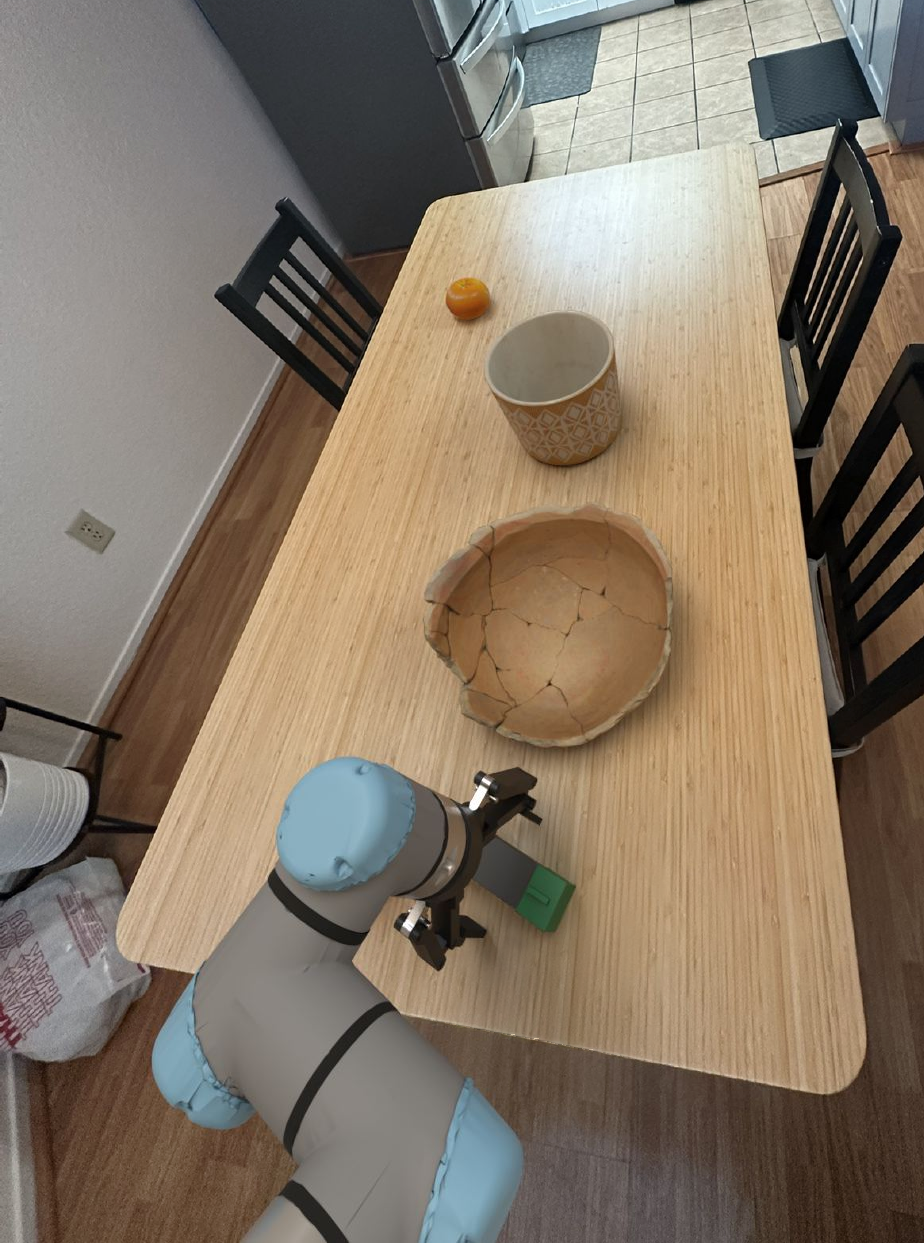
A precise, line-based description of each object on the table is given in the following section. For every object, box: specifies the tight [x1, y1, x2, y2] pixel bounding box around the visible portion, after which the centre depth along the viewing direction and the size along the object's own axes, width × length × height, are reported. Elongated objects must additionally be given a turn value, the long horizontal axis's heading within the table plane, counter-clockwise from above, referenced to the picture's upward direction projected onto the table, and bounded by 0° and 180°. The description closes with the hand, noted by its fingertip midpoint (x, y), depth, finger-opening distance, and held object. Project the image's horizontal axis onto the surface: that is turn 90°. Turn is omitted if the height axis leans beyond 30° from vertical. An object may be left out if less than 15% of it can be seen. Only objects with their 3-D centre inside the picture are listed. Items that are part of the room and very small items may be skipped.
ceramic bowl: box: [422, 501, 675, 749], centre depth 79 cm, size 30×27×15 cm
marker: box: [472, 834, 577, 933], centre depth 68 cm, size 15×5×5 cm, turn 60°
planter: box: [483, 309, 623, 466], centre depth 99 cm, size 19×19×16 cm
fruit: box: [445, 277, 491, 321], centre depth 126 cm, size 8×8×8 cm
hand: (504, 869), depth 69 cm, fingers open, 11 cm apart
